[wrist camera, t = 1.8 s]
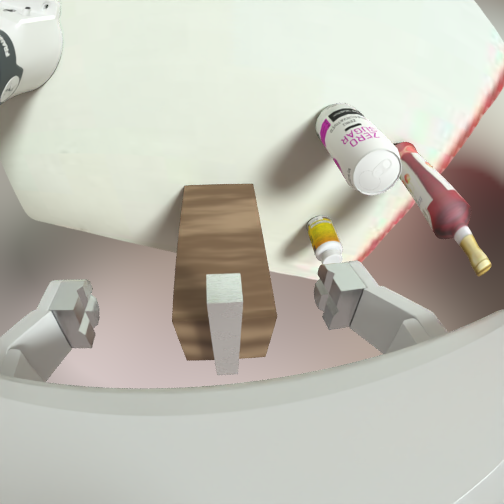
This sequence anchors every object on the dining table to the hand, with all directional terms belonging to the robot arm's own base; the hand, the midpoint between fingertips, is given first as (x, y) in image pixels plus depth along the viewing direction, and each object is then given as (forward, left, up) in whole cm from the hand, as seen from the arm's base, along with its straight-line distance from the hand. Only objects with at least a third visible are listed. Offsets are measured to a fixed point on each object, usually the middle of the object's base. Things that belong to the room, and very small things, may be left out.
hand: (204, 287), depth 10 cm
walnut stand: (+20, -19, -36) cm, 45 cm away
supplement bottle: (+37, -7, -36) cm, 52 cm away
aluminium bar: (+16, -15, -10) cm, 24 cm away
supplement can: (+20, +8, -36) cm, 42 cm away
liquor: (+33, +15, -36) cm, 51 cm away
